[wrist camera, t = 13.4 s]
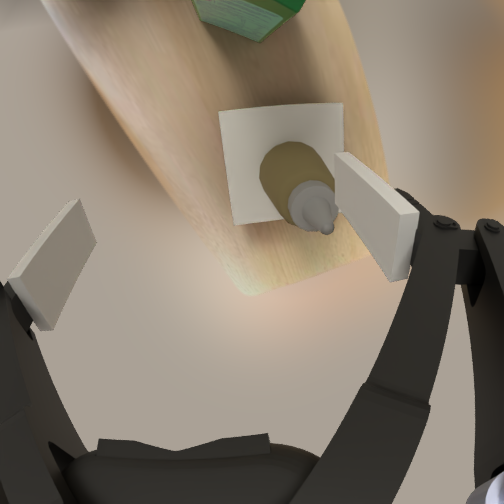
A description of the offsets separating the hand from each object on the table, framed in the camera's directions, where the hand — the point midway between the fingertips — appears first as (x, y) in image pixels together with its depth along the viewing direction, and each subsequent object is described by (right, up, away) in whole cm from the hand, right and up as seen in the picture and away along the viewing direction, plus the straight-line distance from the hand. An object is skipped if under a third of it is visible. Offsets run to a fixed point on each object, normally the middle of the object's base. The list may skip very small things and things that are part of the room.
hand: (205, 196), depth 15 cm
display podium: (+6, +11, +29) cm, 32 cm away
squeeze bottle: (+7, +9, +25) cm, 28 cm away
